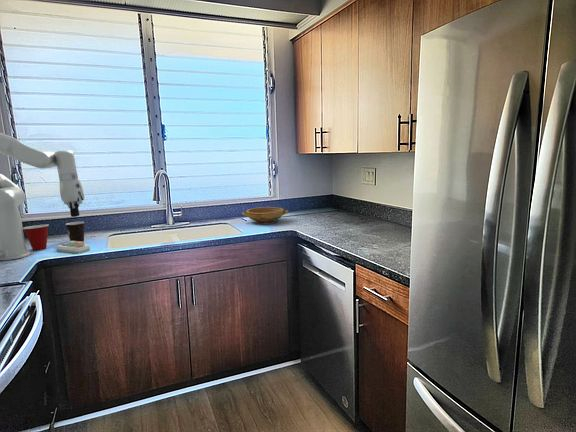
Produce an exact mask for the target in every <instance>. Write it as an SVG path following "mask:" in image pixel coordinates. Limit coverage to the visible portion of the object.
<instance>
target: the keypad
mask: <svg viewBox="0 0 576 432" xmlns="http://www.w3.org/2000/svg"><path fill="white" fill-rule="evenodd" d="M56 249H57V250H56V251H57V252H63V253H72V254H79V253H80V254H82V253H86V252H90V251H91V247H90V245H89V244H84V246H82V247H76V246H69V245H68V246H62V244H59V245H56Z"/></svg>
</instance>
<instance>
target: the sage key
mask: <svg viewBox="0 0 576 432" xmlns="http://www.w3.org/2000/svg"><path fill="white" fill-rule="evenodd" d="M75 242H77V241H70V240H68V241H67V243H68V245H69V246H75Z"/></svg>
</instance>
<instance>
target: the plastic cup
mask: <svg viewBox="0 0 576 432" xmlns="http://www.w3.org/2000/svg"><path fill="white" fill-rule="evenodd" d="M49 226H50V224H48V223H47V224H38V225H30V226H29V225H28V226H24V227H23V231H24V232H25V234H26V236H27V239H28V242H29V244H30V247H31V249H32V250H33V251H42V250H45V249H47V248H48V247H47V245H48V230H49Z"/></svg>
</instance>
